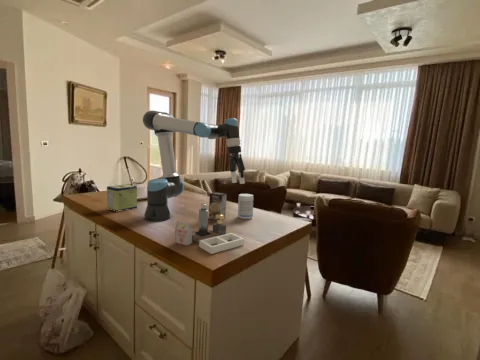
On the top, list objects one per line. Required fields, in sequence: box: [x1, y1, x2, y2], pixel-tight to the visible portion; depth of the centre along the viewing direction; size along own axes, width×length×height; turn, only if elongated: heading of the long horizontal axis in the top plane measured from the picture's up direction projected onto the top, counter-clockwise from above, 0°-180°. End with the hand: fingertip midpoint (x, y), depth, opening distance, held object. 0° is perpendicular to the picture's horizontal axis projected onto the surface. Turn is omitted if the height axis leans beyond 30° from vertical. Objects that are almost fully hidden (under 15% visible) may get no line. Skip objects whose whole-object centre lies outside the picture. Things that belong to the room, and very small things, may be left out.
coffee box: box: [208, 191, 228, 221], centre depth 165 cm, size 9×6×16 cm
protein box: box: [106, 183, 138, 211], centre depth 177 cm, size 10×16×16 cm
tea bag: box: [174, 220, 193, 247], centre depth 124 cm, size 4×7×10 cm, turn 65°
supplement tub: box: [237, 193, 254, 220], centre depth 171 cm, size 10×10×15 cm
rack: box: [198, 232, 245, 255], centre depth 123 cm, size 10×18×3 cm, turn 130°
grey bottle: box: [197, 203, 209, 237], centre depth 132 cm, size 4×4×17 cm
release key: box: [215, 214, 225, 225], centre depth 138 cm, size 4×4×6 cm
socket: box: [192, 222, 227, 244], centre depth 135 cm, size 12×18×5 cm, turn 130°
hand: (238, 183), depth 153 cm, fingers open, 13 cm apart
